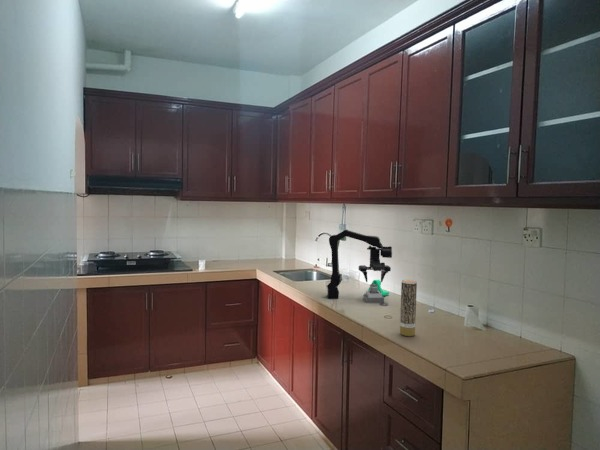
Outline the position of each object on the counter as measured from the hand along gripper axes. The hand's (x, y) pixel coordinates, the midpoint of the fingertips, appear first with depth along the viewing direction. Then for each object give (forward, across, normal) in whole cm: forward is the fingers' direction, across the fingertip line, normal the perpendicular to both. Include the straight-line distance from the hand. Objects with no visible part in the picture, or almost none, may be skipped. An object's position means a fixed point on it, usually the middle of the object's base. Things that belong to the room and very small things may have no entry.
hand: (374, 282), depth 248 cm
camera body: (+12, 0, 0) cm, 12 cm away
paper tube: (+12, 0, -61) cm, 62 cm away
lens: (+9, 0, 0) cm, 9 cm away
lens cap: (+12, +4, -9) cm, 15 cm away
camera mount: (+12, +8, +16) cm, 22 cm away
